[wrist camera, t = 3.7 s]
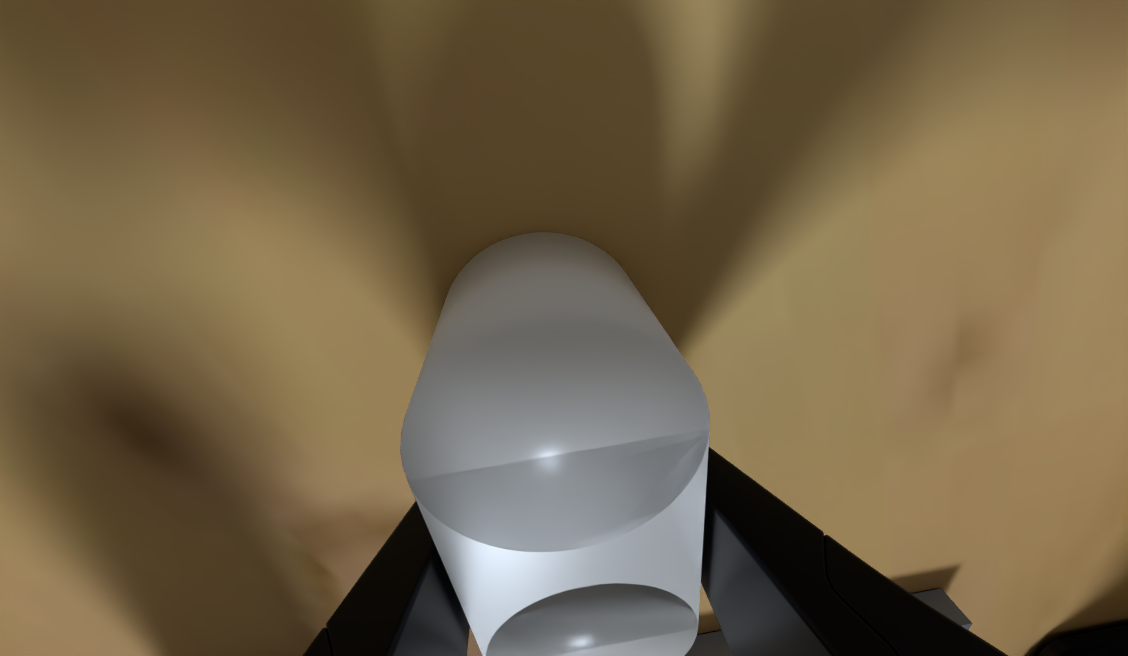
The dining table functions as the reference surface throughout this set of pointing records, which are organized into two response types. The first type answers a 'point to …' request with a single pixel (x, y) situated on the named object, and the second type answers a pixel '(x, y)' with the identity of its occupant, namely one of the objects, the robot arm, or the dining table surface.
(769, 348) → the dining table surface
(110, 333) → the dining table surface
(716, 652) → the slate board
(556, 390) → the grey rounded piece
